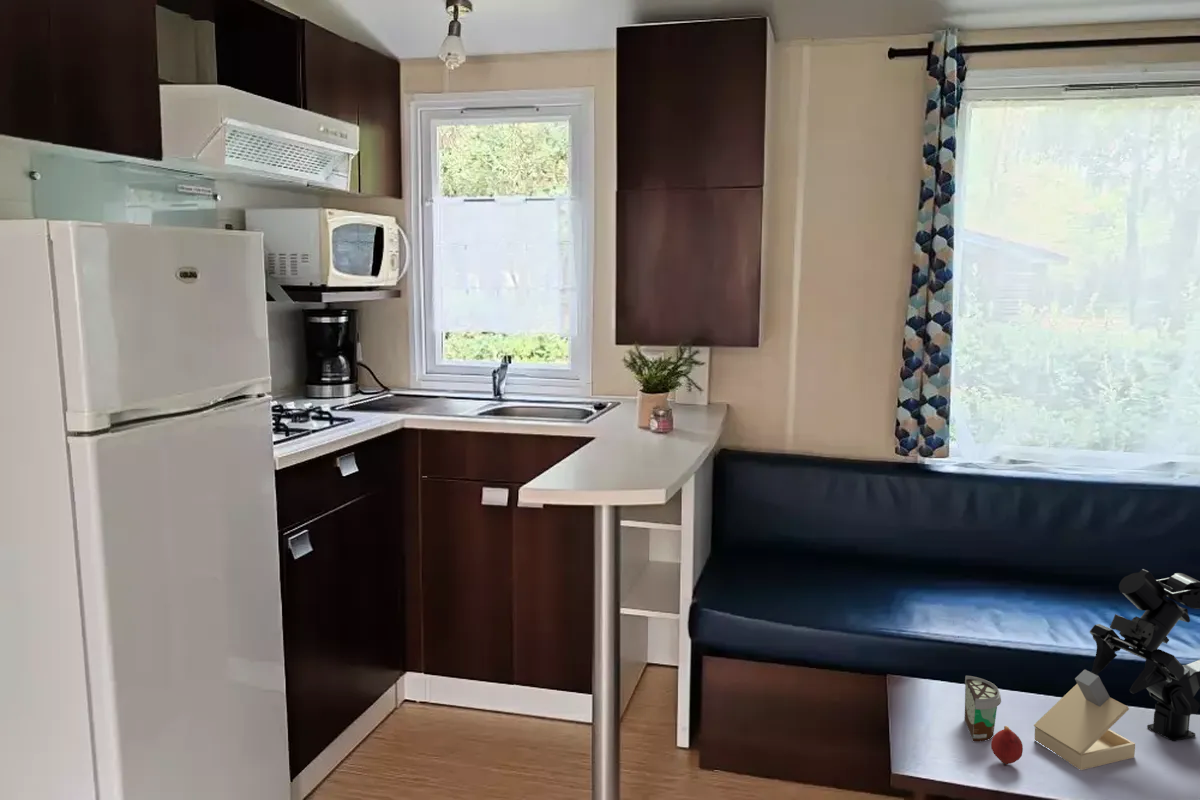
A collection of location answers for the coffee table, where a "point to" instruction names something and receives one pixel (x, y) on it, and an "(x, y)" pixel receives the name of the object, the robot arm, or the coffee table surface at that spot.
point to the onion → (1007, 746)
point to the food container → (980, 707)
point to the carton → (1092, 750)
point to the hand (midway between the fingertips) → (1111, 682)
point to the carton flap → (1082, 714)
